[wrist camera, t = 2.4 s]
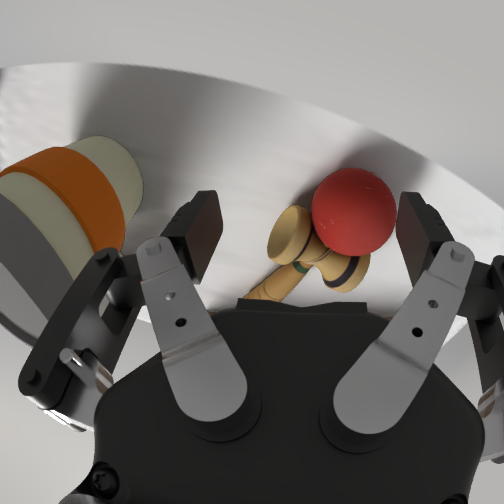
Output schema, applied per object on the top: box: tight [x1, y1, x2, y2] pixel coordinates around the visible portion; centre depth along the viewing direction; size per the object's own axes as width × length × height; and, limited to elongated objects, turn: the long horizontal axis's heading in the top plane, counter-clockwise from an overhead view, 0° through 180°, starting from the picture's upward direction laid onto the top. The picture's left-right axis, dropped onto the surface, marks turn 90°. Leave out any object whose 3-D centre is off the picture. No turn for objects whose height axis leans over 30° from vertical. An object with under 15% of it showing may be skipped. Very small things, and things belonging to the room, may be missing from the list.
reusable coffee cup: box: [0, 136, 143, 348], centre depth 18 cm, size 12×13×15 cm
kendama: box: [243, 168, 397, 302], centre depth 23 cm, size 8×6×18 cm
